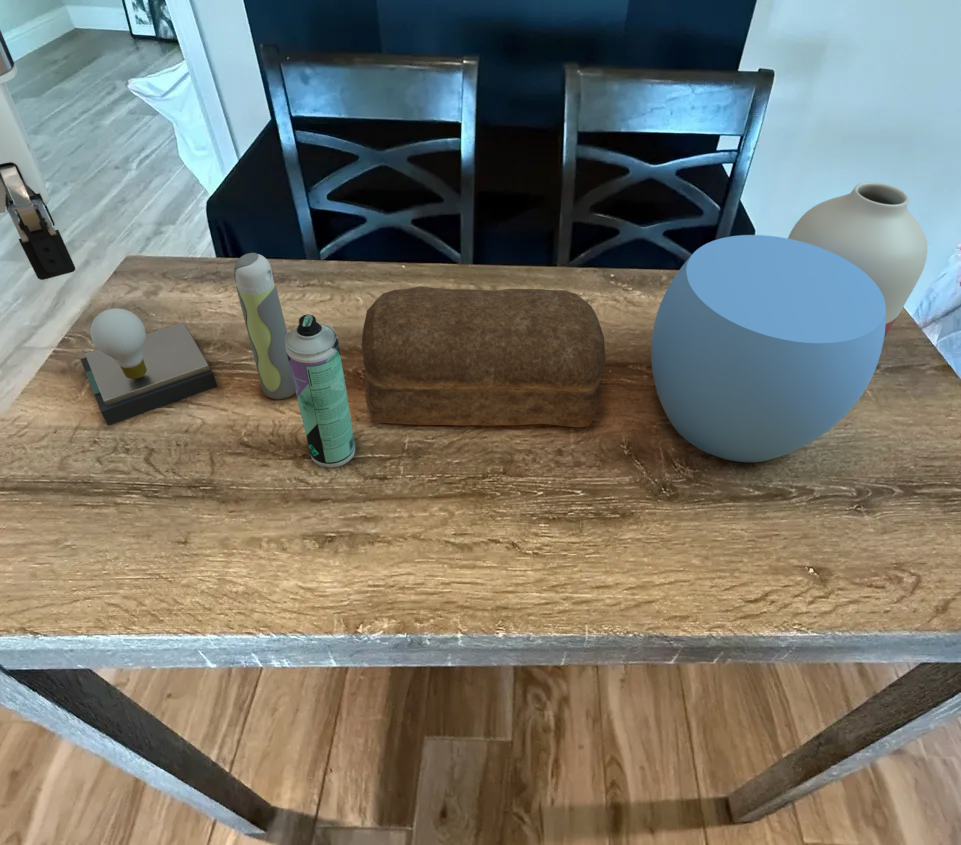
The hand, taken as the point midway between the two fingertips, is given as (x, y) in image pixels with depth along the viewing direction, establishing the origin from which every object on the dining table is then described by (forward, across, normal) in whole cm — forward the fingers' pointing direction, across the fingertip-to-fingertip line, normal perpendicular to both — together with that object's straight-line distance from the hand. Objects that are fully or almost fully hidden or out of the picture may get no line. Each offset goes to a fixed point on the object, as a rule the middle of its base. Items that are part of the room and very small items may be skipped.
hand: (47, 251), depth 65 cm
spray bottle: (+26, +1, +19) cm, 32 cm away
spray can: (+26, +15, +20) cm, 36 cm away
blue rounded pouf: (+26, +37, +66) cm, 80 cm away
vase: (+26, +34, +88) cm, 98 cm away
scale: (+26, -10, +5) cm, 28 cm away
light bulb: (+23, -7, +3) cm, 24 cm away
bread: (+26, +15, +42) cm, 51 cm away
